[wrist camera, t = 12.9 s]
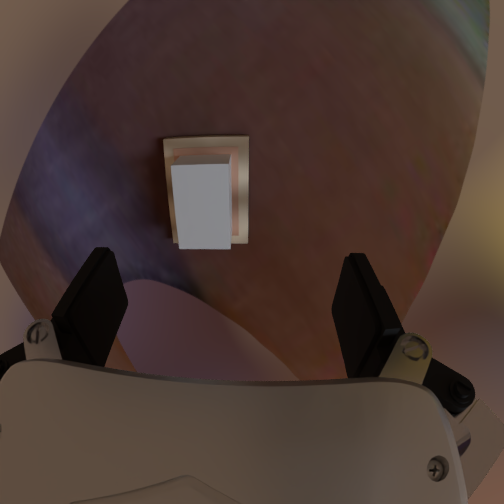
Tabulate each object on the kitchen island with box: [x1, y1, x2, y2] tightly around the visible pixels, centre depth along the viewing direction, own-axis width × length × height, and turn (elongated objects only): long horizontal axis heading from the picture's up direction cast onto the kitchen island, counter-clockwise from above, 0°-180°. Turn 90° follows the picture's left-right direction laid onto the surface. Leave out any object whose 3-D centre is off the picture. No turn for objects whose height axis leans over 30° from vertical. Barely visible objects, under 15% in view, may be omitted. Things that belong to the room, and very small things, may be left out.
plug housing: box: [171, 154, 232, 249], centre depth 33 cm, size 10×6×4 cm, turn 179°
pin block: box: [163, 135, 249, 243], centre depth 34 cm, size 14×10×4 cm
